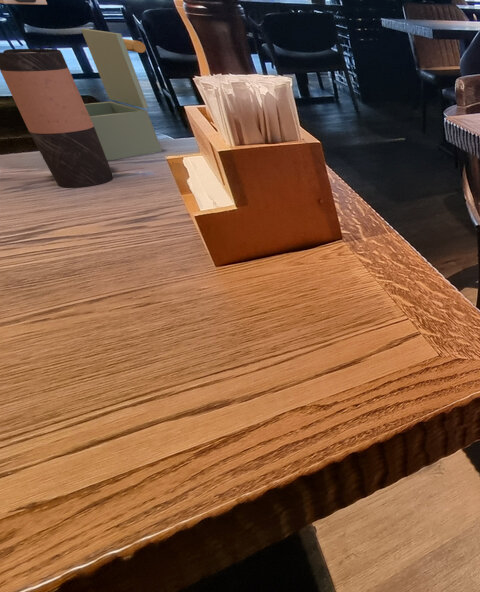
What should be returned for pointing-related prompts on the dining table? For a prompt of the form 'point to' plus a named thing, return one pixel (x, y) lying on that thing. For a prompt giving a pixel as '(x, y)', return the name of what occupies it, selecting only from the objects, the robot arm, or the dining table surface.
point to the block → (12, 1)
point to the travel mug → (55, 116)
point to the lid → (116, 65)
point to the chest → (123, 130)
